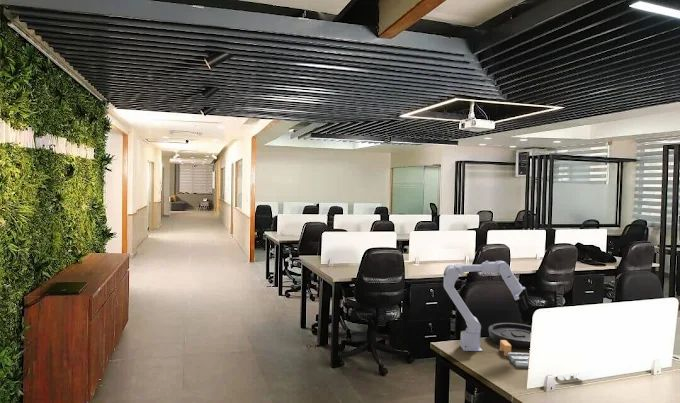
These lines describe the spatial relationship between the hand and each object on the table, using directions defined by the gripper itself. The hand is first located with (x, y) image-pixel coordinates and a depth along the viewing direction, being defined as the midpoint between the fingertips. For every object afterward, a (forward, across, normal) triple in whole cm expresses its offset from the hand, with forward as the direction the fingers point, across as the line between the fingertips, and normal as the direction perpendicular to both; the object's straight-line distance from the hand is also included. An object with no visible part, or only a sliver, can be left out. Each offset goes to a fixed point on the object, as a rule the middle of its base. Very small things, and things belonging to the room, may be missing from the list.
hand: (526, 305), depth 231 cm
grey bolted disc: (+20, +10, +18) cm, 29 cm away
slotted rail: (+17, -21, +10) cm, 28 cm away
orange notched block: (+14, -12, +18) cm, 26 cm away
